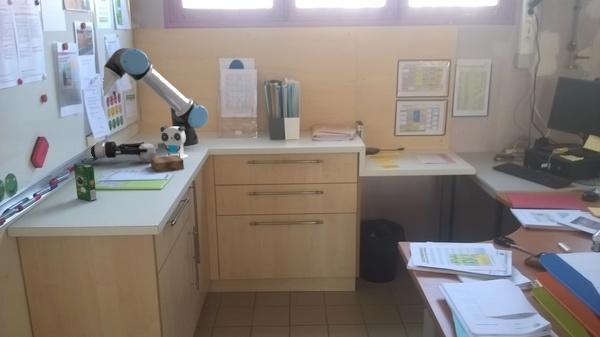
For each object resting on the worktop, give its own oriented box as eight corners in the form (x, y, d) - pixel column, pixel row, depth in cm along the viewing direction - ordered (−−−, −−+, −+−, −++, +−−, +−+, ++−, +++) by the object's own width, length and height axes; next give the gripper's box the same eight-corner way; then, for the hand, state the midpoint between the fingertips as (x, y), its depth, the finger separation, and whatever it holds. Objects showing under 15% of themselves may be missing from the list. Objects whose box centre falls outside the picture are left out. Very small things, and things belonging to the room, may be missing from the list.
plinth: (177, 163, 250) (177, 154, 249) (183, 168, 239) (183, 160, 238) (151, 166, 245) (150, 157, 244) (156, 172, 234) (155, 163, 233)
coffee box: (97, 199, 196) (93, 164, 193) (91, 202, 194) (86, 166, 191) (84, 196, 201) (79, 162, 197) (77, 198, 198) (72, 163, 195)
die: (145, 166, 248) (157, 147, 248) (129, 156, 248) (141, 137, 249) (151, 168, 256) (162, 150, 257) (135, 158, 257) (147, 140, 257)
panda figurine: (158, 158, 260) (155, 127, 256) (171, 153, 270) (169, 124, 266) (179, 160, 256) (177, 129, 252) (192, 155, 266) (190, 125, 262)
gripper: (112, 152, 262) (160, 151, 264) (101, 162, 242) (153, 160, 244) (111, 137, 261) (159, 135, 262) (99, 146, 240) (151, 144, 242)
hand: (156, 147), depth 253 cm, fingers closed on die, 8 cm apart
